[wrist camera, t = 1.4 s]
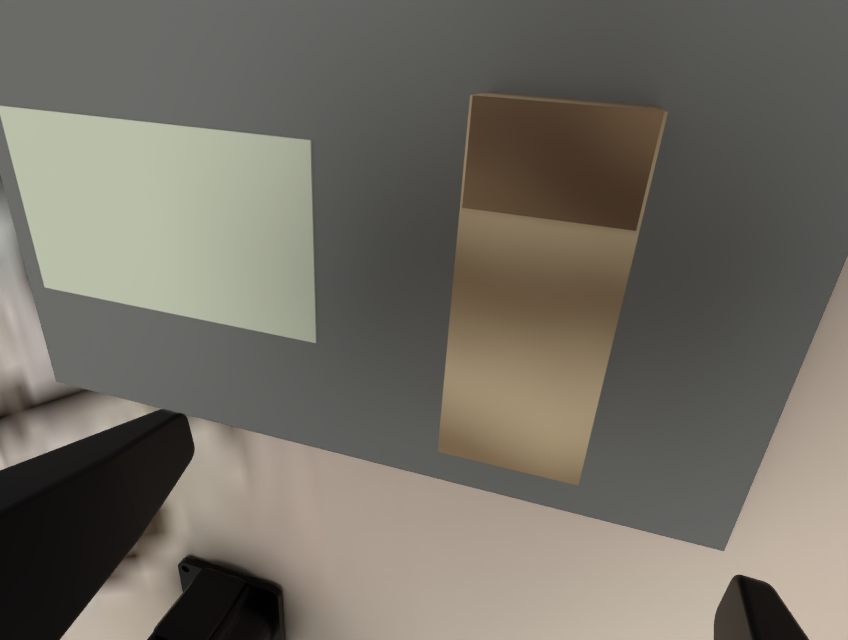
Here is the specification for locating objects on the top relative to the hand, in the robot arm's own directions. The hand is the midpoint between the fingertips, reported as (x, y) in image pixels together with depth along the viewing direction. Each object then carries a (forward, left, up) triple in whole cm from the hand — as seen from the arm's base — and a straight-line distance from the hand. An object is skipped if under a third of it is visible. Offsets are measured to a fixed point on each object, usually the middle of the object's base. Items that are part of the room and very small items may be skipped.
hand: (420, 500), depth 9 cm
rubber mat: (0, +7, -12) cm, 14 cm away
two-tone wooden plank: (0, -1, -12) cm, 12 cm away
